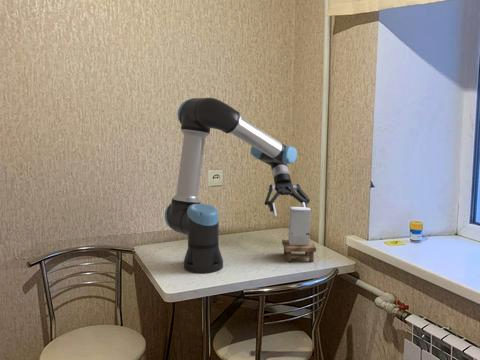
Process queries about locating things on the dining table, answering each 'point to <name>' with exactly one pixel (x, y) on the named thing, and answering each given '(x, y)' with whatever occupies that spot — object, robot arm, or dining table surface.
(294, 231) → the skincare box
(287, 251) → the stool
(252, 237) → the dining table surface
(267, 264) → the dining table surface
